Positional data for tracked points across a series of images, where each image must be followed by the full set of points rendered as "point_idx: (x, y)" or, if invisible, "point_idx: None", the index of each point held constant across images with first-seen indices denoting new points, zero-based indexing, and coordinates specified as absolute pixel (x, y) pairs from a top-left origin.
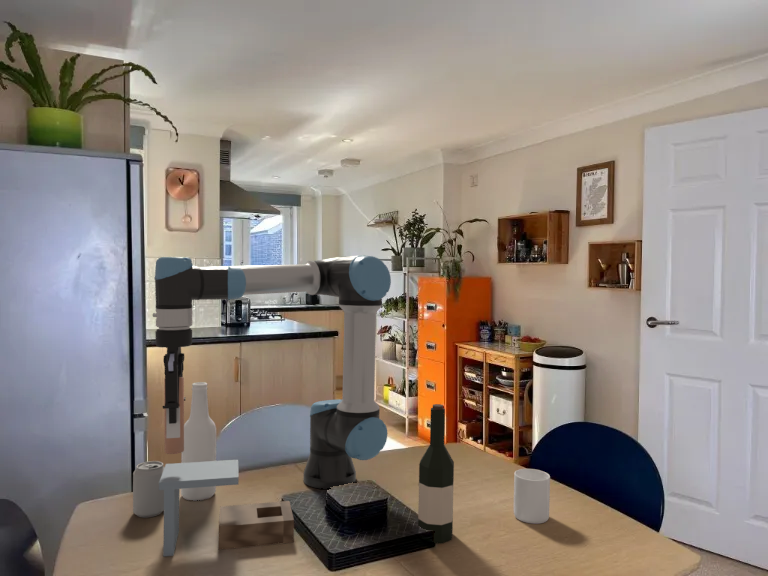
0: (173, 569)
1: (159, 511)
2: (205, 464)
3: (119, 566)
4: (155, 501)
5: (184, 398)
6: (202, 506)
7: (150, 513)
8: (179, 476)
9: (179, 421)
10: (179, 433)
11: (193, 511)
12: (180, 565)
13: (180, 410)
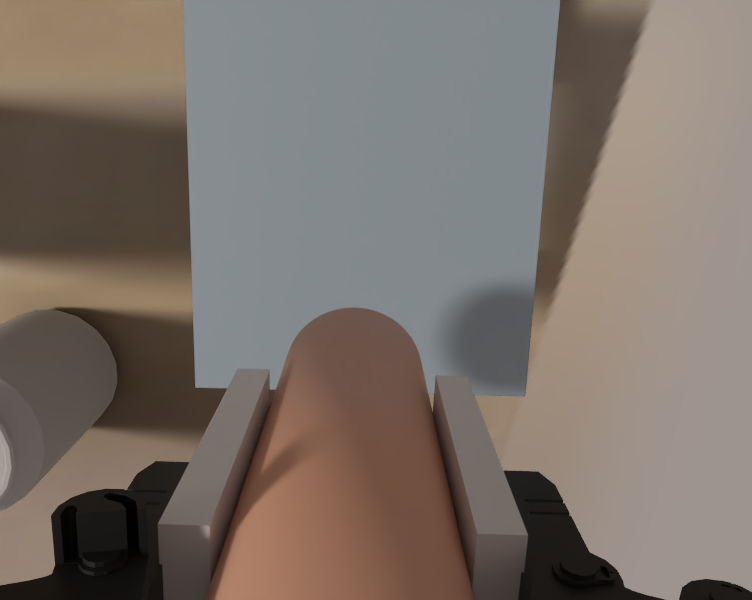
0: (574, 238)
1: (93, 330)
2: (251, 142)
3: (497, 409)
4: (87, 360)
5: (113, 521)
6: (21, 152)
7: (113, 363)
8: (451, 294)
9: (489, 444)
10: (473, 393)
11: (73, 190)
12: (552, 216)
13: (432, 496)
